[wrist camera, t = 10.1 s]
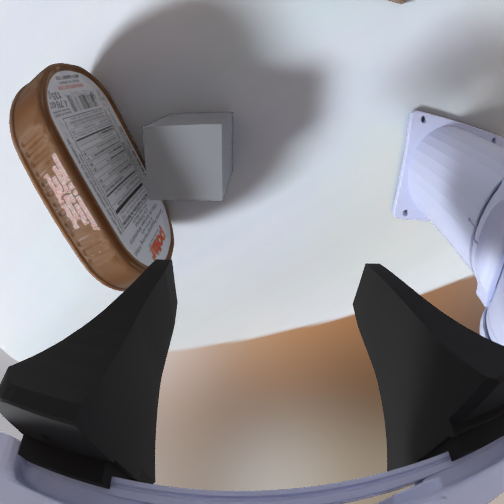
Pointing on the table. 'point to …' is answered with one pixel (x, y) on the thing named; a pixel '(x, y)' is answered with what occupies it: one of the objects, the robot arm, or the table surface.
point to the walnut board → (398, 1)
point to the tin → (89, 174)
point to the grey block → (189, 156)
